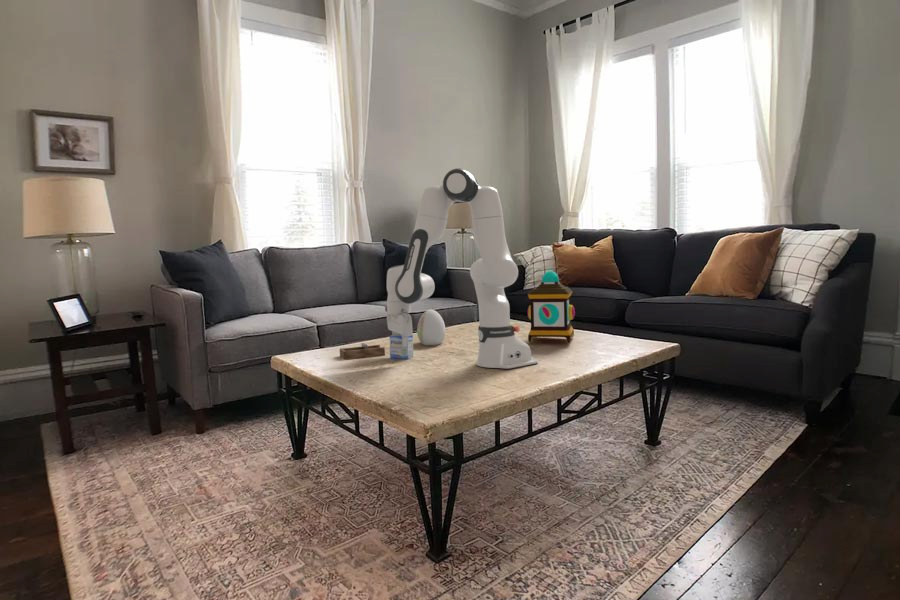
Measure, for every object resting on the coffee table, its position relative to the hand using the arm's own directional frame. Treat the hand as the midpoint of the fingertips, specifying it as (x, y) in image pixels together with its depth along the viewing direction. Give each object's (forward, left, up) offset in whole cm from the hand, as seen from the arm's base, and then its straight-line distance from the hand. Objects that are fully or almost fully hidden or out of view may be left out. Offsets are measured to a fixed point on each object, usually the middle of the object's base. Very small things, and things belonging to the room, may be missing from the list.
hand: (400, 344), depth 206 cm
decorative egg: (-21, -23, -5) cm, 32 cm away
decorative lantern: (-68, -2, -5) cm, 69 cm away
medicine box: (0, 0, -5) cm, 5 cm away
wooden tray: (+12, -13, -5) cm, 18 cm away
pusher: (+12, -13, -5) cm, 18 cm away
